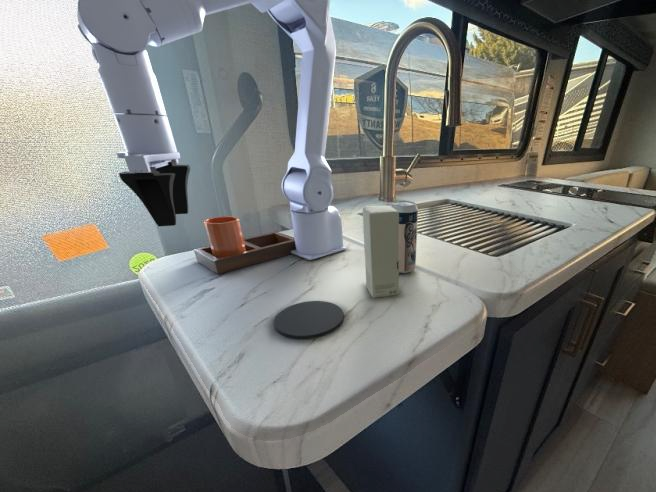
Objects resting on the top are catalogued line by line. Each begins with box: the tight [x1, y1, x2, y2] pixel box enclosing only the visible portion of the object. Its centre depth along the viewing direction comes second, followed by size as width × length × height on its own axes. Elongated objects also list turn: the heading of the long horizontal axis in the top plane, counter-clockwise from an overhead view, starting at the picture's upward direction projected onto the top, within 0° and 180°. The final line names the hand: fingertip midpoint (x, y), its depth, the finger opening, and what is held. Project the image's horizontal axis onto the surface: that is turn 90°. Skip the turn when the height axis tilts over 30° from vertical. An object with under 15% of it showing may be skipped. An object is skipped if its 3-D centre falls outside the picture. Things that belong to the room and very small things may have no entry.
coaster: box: [273, 300, 345, 340], centre depth 42 cm, size 9×9×1 cm
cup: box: [203, 215, 246, 258], centre depth 58 cm, size 6×6×8 cm
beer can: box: [390, 200, 419, 274], centre depth 55 cm, size 5×5×12 cm
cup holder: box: [193, 231, 296, 275], centre depth 62 cm, size 9×17×2 cm, turn 140°
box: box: [362, 205, 400, 298], centre depth 47 cm, size 5×4×13 cm
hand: (174, 219), depth 47 cm, fingers open, 7 cm apart
